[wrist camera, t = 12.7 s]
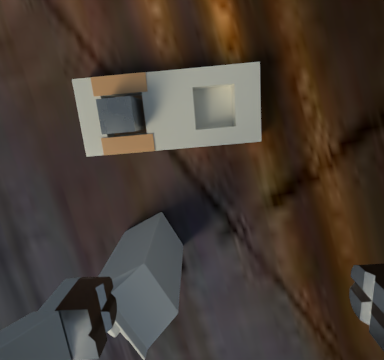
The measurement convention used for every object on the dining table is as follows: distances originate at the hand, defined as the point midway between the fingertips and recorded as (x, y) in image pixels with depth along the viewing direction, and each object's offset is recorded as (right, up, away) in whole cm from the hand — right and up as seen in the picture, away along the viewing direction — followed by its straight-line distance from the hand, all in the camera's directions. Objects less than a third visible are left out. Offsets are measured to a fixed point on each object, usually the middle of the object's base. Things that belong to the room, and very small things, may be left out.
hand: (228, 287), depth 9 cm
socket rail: (-4, +14, +28) cm, 32 cm away
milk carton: (-7, -6, +33) cm, 35 cm away
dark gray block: (-10, +13, +27) cm, 32 cm away
